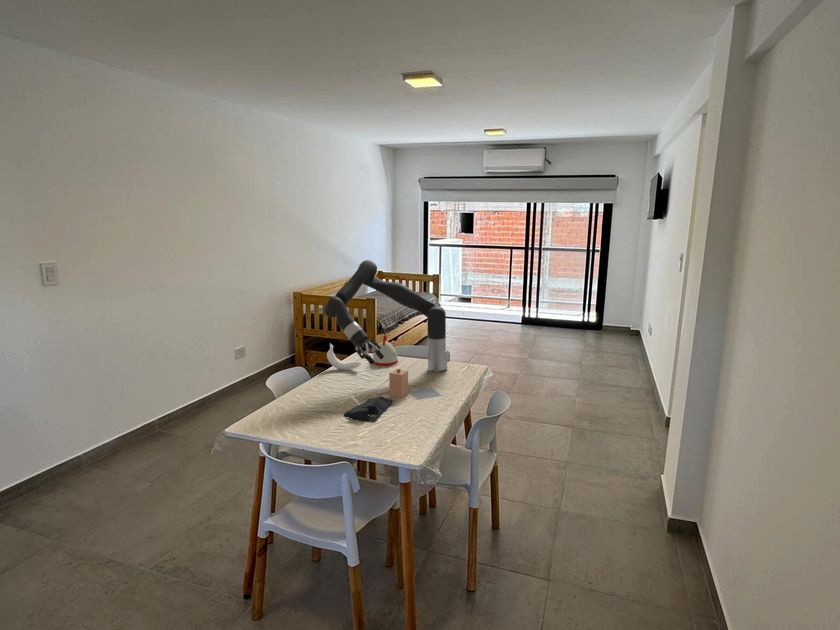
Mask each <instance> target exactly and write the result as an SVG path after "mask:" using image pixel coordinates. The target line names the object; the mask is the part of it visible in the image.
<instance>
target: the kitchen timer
mask: <svg viewBox="0 0 840 630" xmlns="http://www.w3.org/2000/svg"><path fill="white" fill-rule="evenodd" d="M378 345H379V346H380V347H381V348H380V352H381V353H382V354H383V356H384V358H383V359H380V358H379V357H378V356H377V355H376V353H374V352H372V359H373V360H374V361H375V362H374V363H373V364H372V365H375V366H378V367H391V366H394V364H395V365H397V364H398V363H399V357H398V351H397V349H396V348H395V347H394V346H393V344H391V343H390V342H389V341H388V337H387V335H385V334H384V335H383V339H382V342H380V343H378ZM376 347H377V346H376ZM377 348H378V347H377ZM374 350H375V349H374ZM375 351H376V350H375ZM390 365H391V366H390Z"/></svg>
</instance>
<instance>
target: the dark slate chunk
mask: <svg viewBox="0 0 840 630" xmlns="http://www.w3.org/2000/svg"><path fill="white" fill-rule="evenodd" d="M393 402H394V401H393V399H390V398H388V397H384V396H377V397H372V398H369V399H367V400H365V402H363V403H360V404H358V405H356V406H354V407H353V408H350V409H349V410H347V411H346V412H344V413H343V415H344V416H343V417H349V418H352V419H351V420H353V421H356V420H358V422H362V421H364V422H367V423H370V422H371V423H375V422H377V420H378V419H379V418H380V417H382V415H383V414H384V413H385V412H386V411H387V409H389V407H390V406H391V405H392V403H393ZM368 415H369V416H368ZM349 418H348V419H349ZM369 421H370V422H369Z"/></svg>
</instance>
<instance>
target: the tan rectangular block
mask: <svg viewBox="0 0 840 630" xmlns="http://www.w3.org/2000/svg"><path fill="white" fill-rule="evenodd" d="M388 378H389V380H388V381H389V396H391V397H397V398H404V397H405V396H406V395H408V394H409V392H408V391H409V370H406V369H405V370H404V369H401V368H396V369H393V370H391V371H390V372H389V374H388Z"/></svg>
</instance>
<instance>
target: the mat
mask: <svg viewBox="0 0 840 630" xmlns="http://www.w3.org/2000/svg"><path fill="white" fill-rule="evenodd" d="M408 394H410V395H411V396H412V397H414V399H416V400H417V401H420V400H425V399H426V400H427V399H430V398H437V397H442V396H443V395H442V394H441V393H439V392H438V391H437V390H436V389H434V388H432V387H431V386H430V387H424V388H418V389H412V390H408Z"/></svg>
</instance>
